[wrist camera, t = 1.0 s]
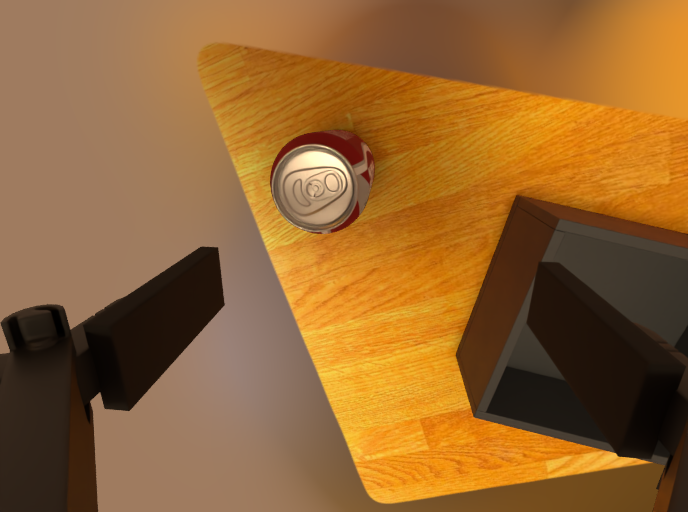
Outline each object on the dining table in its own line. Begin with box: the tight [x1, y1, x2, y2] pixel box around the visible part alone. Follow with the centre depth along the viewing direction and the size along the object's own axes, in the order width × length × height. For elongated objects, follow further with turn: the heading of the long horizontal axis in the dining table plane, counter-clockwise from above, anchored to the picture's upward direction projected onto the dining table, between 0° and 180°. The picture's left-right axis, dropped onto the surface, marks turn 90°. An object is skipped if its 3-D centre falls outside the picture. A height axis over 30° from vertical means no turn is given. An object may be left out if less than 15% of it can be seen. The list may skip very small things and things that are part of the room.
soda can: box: [270, 130, 375, 234], centre depth 29 cm, size 7×7×12 cm
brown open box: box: [456, 195, 688, 465], centre depth 32 cm, size 18×20×9 cm
